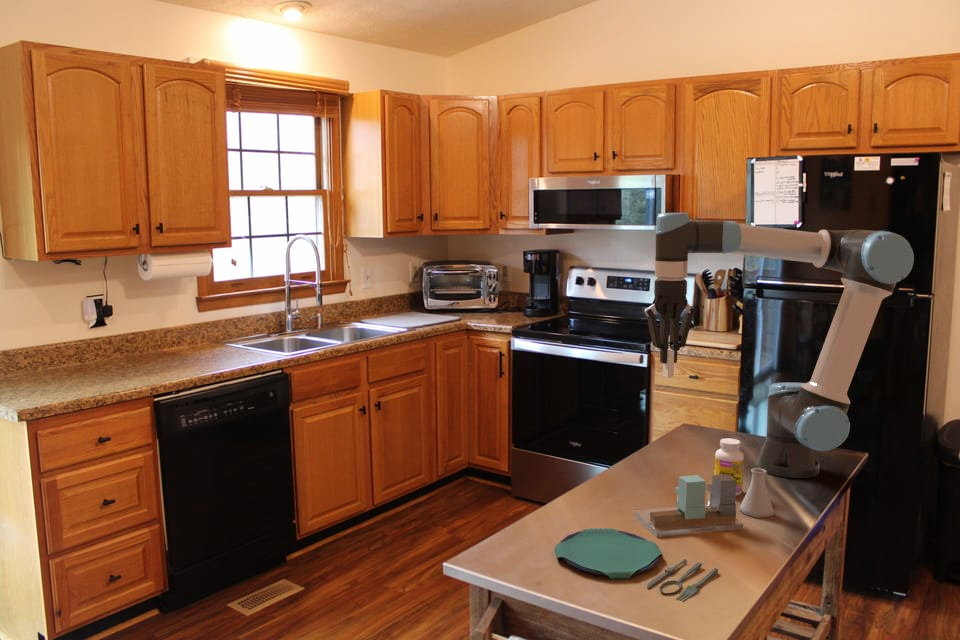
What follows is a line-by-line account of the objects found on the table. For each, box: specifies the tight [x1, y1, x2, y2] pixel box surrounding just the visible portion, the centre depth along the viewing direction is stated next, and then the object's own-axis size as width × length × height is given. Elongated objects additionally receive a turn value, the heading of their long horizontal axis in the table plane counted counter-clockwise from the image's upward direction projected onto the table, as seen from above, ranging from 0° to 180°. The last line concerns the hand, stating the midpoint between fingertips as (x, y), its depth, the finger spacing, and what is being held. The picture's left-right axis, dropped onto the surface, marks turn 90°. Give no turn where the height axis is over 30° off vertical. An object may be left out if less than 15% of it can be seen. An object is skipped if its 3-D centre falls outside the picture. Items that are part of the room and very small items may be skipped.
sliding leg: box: [674, 474, 707, 519], centre depth 177 cm, size 4×8×9 cm, turn 12°
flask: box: [739, 467, 775, 518], centre depth 183 cm, size 7×7×10 cm
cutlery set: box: [554, 527, 719, 602], centre depth 157 cm, size 20×30×2 cm, turn 48°
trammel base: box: [633, 474, 744, 538], centre depth 177 cm, size 20×12×11 cm, turn 102°
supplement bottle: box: [713, 437, 745, 496], centre depth 195 cm, size 7×7×13 cm
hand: (668, 376), depth 195 cm, fingers closed
